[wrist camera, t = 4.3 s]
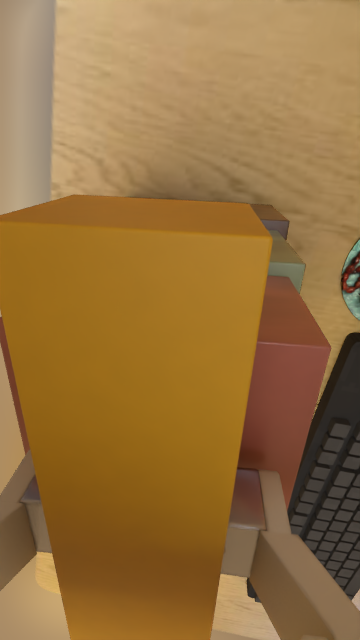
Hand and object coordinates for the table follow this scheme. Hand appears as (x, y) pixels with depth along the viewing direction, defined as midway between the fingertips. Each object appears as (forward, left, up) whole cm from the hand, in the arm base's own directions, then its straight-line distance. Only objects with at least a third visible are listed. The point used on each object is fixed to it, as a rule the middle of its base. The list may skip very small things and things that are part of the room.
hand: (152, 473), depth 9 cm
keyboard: (+16, -22, -18) cm, 33 cm away
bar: (0, 0, -1) cm, 1 cm away
